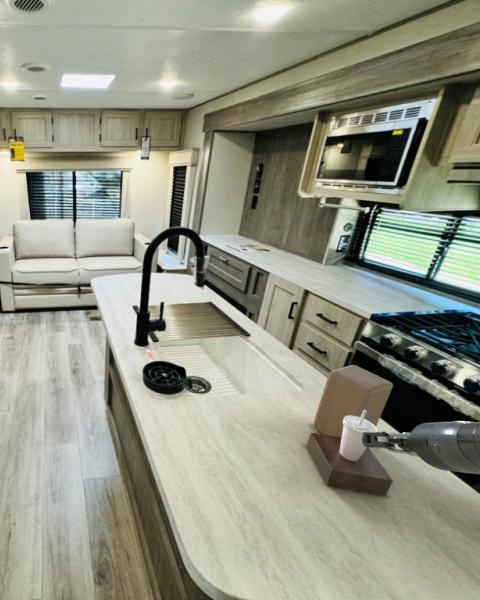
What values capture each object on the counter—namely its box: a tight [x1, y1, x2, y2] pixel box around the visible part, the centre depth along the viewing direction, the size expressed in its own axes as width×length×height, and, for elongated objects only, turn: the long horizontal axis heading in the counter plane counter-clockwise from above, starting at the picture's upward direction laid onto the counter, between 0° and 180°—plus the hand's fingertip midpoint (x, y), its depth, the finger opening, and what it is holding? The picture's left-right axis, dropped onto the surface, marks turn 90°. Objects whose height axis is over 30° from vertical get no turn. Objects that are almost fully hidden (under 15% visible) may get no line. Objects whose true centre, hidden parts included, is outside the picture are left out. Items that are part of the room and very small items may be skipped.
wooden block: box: [312, 364, 394, 437], centre depth 86 cm, size 10×10×20 cm
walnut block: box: [306, 432, 394, 497], centre depth 78 cm, size 12×12×5 cm
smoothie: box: [339, 410, 379, 461], centre depth 75 cm, size 6×6×14 cm
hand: (389, 445), depth 65 cm, fingers open, 8 cm apart
